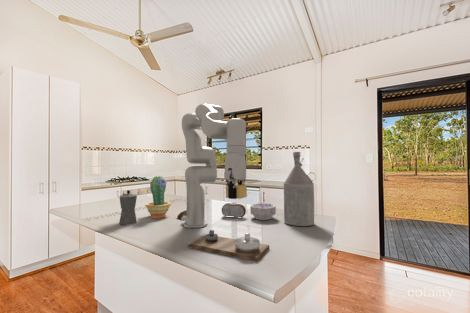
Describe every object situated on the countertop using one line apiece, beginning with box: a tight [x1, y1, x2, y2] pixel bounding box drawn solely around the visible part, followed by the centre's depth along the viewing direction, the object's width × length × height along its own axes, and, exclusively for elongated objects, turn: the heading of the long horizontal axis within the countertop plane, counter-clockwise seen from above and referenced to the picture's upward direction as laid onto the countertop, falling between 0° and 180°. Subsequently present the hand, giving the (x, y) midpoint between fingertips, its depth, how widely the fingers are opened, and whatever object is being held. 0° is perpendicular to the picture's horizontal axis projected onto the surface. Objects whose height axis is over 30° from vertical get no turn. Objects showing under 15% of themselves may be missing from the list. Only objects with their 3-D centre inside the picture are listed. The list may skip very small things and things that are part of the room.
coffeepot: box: [118, 189, 138, 226], centre depth 129 cm, size 15×9×18 cm, turn 44°
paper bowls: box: [249, 202, 277, 221], centre depth 139 cm, size 15×15×8 cm
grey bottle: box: [283, 151, 317, 227], centre depth 128 cm, size 13×17×40 cm
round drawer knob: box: [205, 229, 218, 242], centre depth 95 cm, size 5×5×4 cm
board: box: [188, 234, 270, 263], centre depth 91 cm, size 29×13×2 cm, turn 63°
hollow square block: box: [225, 184, 248, 200], centre depth 89 cm, size 6×6×4 cm
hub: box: [235, 232, 260, 254], centre depth 86 cm, size 9×9×6 cm
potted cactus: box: [144, 175, 172, 219], centre depth 144 cm, size 15×15×25 cm
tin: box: [221, 202, 247, 218], centre depth 141 cm, size 15×3×8 cm, turn 74°
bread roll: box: [176, 209, 187, 221], centre depth 140 cm, size 13×12×5 cm
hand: (236, 197), depth 89 cm, fingers closed on hollow square block, 5 cm apart
